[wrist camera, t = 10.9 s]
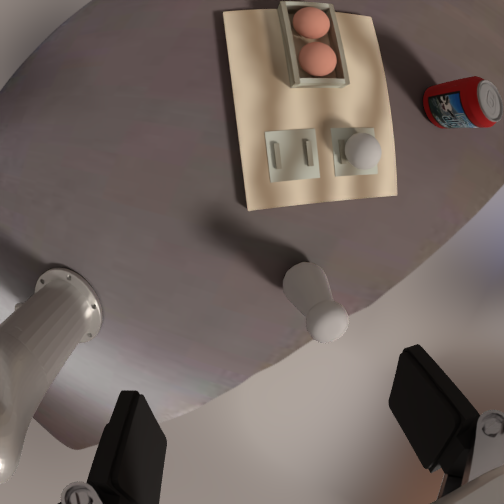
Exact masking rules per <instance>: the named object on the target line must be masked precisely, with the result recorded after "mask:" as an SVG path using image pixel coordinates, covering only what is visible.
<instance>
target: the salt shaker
mask: <svg viewBox="0 0 504 504" xmlns="http://www.w3.org/2000/svg"><path fill="white" fill-rule="evenodd" d="M283 292H284V294H285V295H286V297H287V298H288V300H289V301H290V302H291V303H292V304H293V305H294V306H295V307H296V308H297V309H298V310H299V311H300V312H301V313H302V314H303V315H304V316H305V317H306V328H307V331H308V332H309V334H310V335H311V337H312V338H313V339H314V340H316V341H318V342H320V343H329V342H332V341H335V340H337V339H338V338H340V337H341V336H342V335H343V334H344V333H345V331H346V330H347V328H348V326H349V317H348V314H347V312H346V310H345V308H344V307H343V306H342V305H341V304H339V303H337V302H335V301H333V297H332V294H331V290H330V287H329V283H328V280H327V277H326V275H325V273H324V271H323V269H322V268H321V267H319V266H317V265H316V264H314V263H309V262H301V263H299V264H297V265H294V266H293V267H292V268H291V269H289V270H288V271H287V272H286V275H285V277H284V280H283Z"/></svg>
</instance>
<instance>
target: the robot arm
mask: <svg viewBox="0 0 504 504" xmlns="http://www.w3.org/2000/svg"><path fill="white" fill-rule="evenodd" d="M102 321H103V313H102V307H101V304H100V301H99V299H98V297H97V294H96V293H95V291H94V290H93V288H92V287H91V286H90V284H89V283H88V282H87V281H86V280H85V279H84V278H83V277H81V276H80V275H79V274H77V273H75V272H74V271H71V270H69V269H66V268H52V269H49V270H48V271H46V272H45V273H44V274H42V275H41V276H40V278H39V279H38V281H37V283H36V286H35V294H34V295H33V296H32V297H30V298H29V299H28V300H27V301H26V302H25V303H17V304H16V305H15V311H14V312H13V313H12V314H11V315H10V316H9V317H8V318H7V319H6V320H4V321H3V322H2V323H1V324H0V484H3V483H5V482H7V481H8V480H9V479H10V478H11V477H12V476H13V474H14V473H15V471H16V469H17V466H18V464H19V461H20V457H21V453H22V449H23V444H24V440H25V436H26V433H27V430H28V427H29V425H30V422H31V419H32V417H33V415H34V413H35V411H36V409H37V408H38V406H39V404H40V402H41V401H42V399H43V397H44V395H45V394H46V392H47V391H48V389H49V387H50V386H51V384H52V383H53V381H54V379H55V378H56V376H57V375H58V373H59V372H60V370H61V369H62V367H63V366H64V364H65V362H66V361H67V359H68V358H69V356H70V355H71V353H72V352H73V351H74V349H75V348H76V346H77V345H78V343H85V342H88V341H90V340H92V339H93V338H94V337H95V336H96V335H97V333H98V332H99V330H100V328H101V325H102ZM389 407H390V409H391V411H392V413H393V414H394V416H395V418H396V419H397V421H398V423H399V425H400V426H401V428H402V430H403V432H404V433H405V435H406V437H407V439H408V440H409V442H410V444H411V446H412V447H413V449H414V451H415V453H416V455H417V456H418V458H419V460H420V462H421V463H422V465H423V467H424V468H425V469H429V471H430V473H432V472H434V471H436V470H438V469H440V468H442V469H443V471H444V473H445V474H444V477H443V481H442V484H441V488H440V491H439V494H438V497H437V500H436V501H434V502H432V503H430V504H504V413H502V412H501V411H498V410H488V411H486V412H484V413H483V414H481V416H480V415H479V413H478V412H477V410H476V409H475V408H474V407H473V406H472V404H471V403H470V402H469V401H468V399H467V398H466V397H465V396H464V395H463V394H462V392H461V391H460V390H459V389H458V388H457V386H456V385H455V384H454V383H453V382H452V381H451V379H450V378H449V377H448V376H447V375H446V374H445V373H444V371H443V370H442V369H441V368H440V367H439V366H438V365H437V363H436V362H435V361H434V360H433V359H432V358H431V357H430V356H429V355H428V353H426V351H425V350H424V349H423V348H422V347H421V346H420V345H418V344H417V345H414V346H411V347H408V348H405V349H404V350H403V353H401V354H400V356H399V361H398V365H397V370H396V374H395V378H394V382H393V386H392V390H391V394H390V397H389ZM166 447H167V440H166V437H165V435H164V433H163V432H162V430H161V428H160V426H159V424H158V422H157V420H156V419H155V417H154V415H153V413H152V411H151V409H150V407H149V405H148V403H147V401H146V399H145V397H144V396H143V395H142V394H139V392H138V391H121V393H120V395H119V397H118V400H117V403H116V405H115V408H114V411H113V414H112V416H111V419H110V422H109V423H108V424H107V425H106V426H105V428H104V431H103V433H102V436H101V439H100V442H99V445H98V448H97V451H96V454H95V457H94V460H93V463H92V467H91V470H90V473H89V476H88V479H87V483H84V482H73V483H70V484H69V485H67V486H66V487H65V488H64V489H63V492H62V494H61V502H60V503H58V504H159V499H160V491H161V483H162V475H163V468H164V460H165V454H166Z"/></svg>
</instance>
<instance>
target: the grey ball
mask: <svg viewBox="0 0 504 504" xmlns="http://www.w3.org/2000/svg"><path fill="white" fill-rule="evenodd" d="M381 153H382V152H381V146H380V144H379V142H378V141H377V139H376V138H375V137H373V136H372V135H370V134H367V133H357V134H354V135H352V136H351V137H350V138H349V139H348V141H347V142H346V145H345V155H346V158H347V160H348V161H349V162H350V164H351V165H353V166H354V167H356V168H358V169H362V170H366V169H371V168H373V167H374V166H376V165H377V164H378V162H379V161H380V158H381Z"/></svg>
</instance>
